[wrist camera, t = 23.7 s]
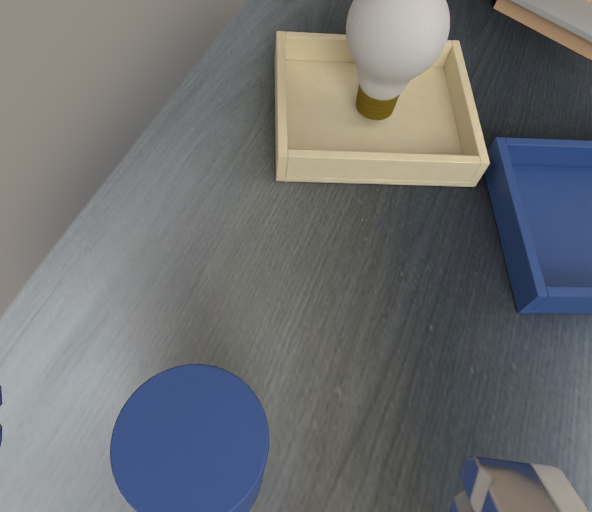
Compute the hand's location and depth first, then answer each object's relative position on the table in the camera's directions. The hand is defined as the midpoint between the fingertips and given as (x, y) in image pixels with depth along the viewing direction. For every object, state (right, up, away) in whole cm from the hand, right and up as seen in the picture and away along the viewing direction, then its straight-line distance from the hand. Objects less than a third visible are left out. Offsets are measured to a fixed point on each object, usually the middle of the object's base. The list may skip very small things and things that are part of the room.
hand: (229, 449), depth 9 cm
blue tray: (+20, +5, +25) cm, 33 cm away
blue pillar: (-3, -7, +16) cm, 18 cm away
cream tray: (+6, +13, +28) cm, 32 cm away
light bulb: (+6, +13, +28) cm, 31 cm away
